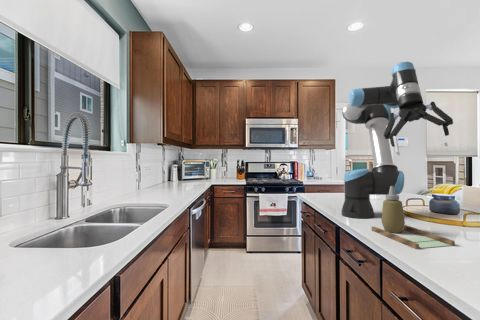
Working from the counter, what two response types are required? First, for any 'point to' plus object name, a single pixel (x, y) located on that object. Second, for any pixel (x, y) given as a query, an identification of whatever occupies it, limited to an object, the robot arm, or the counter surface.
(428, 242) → the pad
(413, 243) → the rail
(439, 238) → the rail
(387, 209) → the squeeze bottle
